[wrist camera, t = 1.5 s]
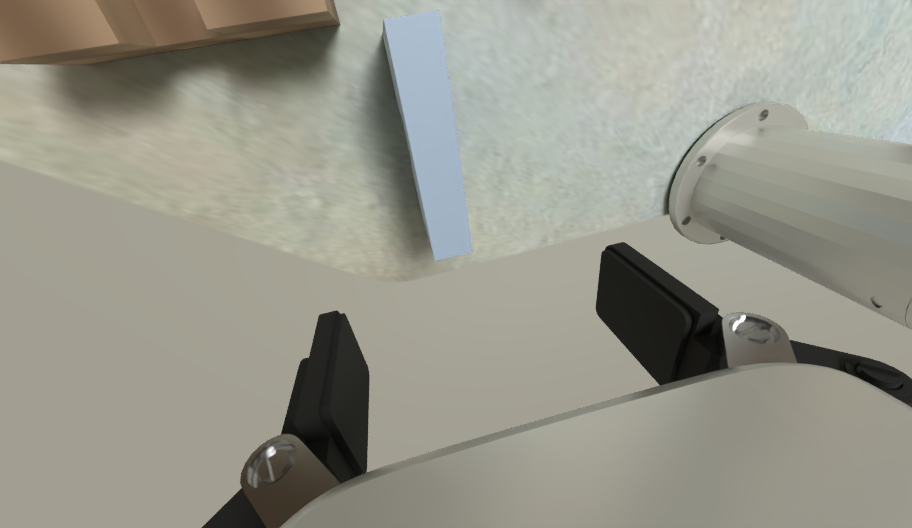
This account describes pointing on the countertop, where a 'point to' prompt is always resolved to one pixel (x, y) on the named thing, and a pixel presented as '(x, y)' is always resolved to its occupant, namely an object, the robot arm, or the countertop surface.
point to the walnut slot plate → (143, 26)
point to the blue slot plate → (429, 128)
